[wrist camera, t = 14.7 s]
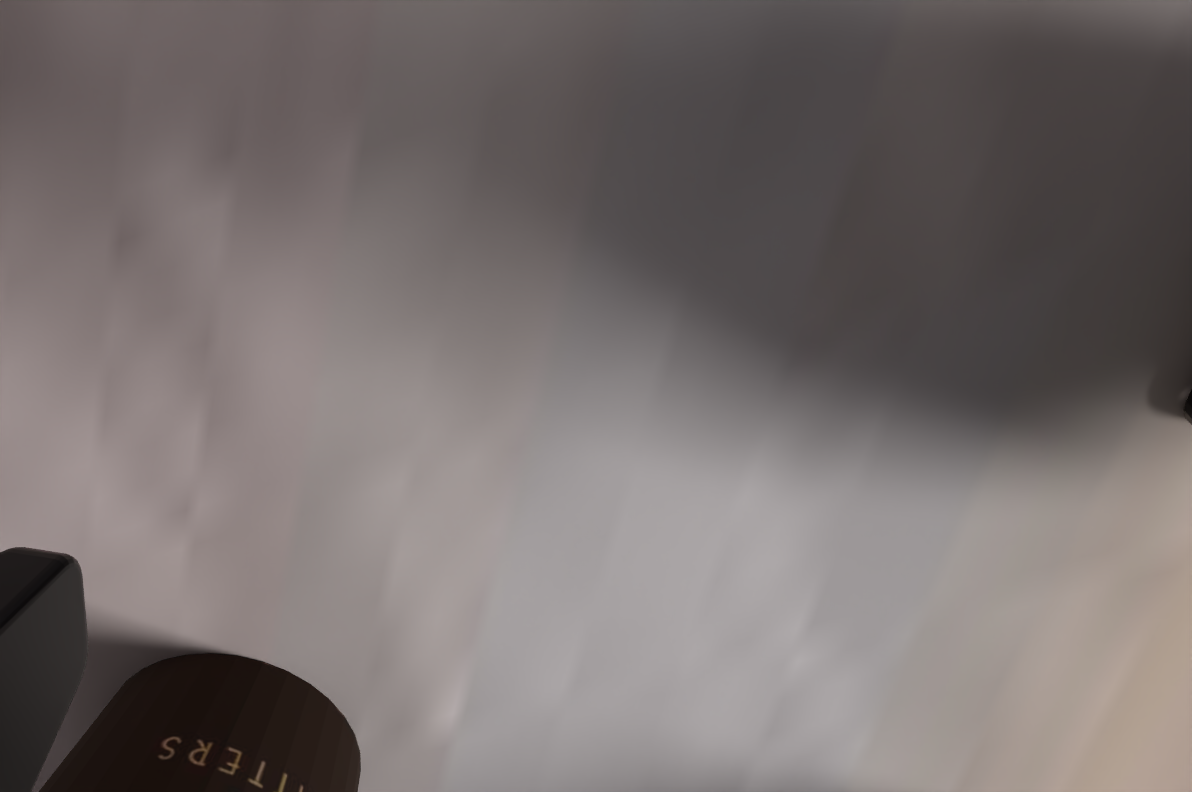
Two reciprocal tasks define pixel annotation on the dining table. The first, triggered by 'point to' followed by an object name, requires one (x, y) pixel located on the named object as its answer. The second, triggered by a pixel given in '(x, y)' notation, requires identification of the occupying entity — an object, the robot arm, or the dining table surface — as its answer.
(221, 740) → the coffee mug
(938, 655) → the dining table surface
